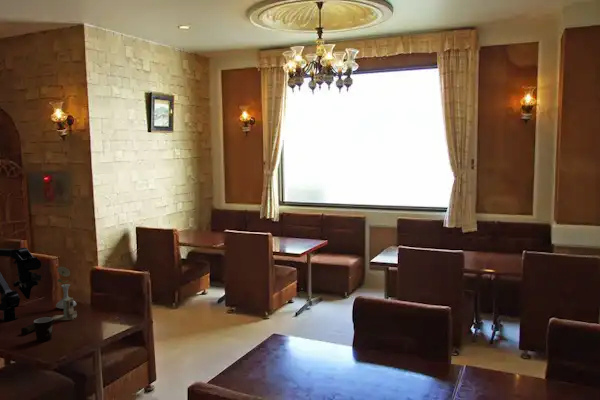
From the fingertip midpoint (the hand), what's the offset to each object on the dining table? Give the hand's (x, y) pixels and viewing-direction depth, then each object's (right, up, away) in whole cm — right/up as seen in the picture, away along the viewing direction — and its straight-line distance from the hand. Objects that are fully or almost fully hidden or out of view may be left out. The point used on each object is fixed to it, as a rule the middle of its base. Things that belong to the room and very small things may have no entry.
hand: (28, 298), depth 274 cm
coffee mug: (+23, -15, -24) cm, 37 cm away
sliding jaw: (+18, -11, +7) cm, 22 cm away
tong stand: (+16, -13, +7) cm, 22 cm away
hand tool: (+10, -14, -9) cm, 20 cm away
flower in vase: (+7, -11, +28) cm, 31 cm away
